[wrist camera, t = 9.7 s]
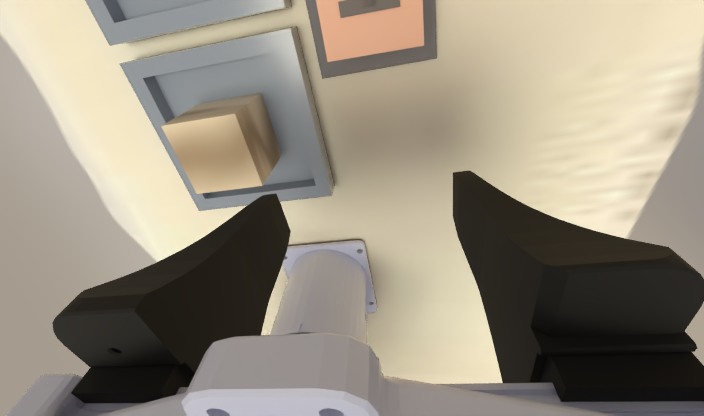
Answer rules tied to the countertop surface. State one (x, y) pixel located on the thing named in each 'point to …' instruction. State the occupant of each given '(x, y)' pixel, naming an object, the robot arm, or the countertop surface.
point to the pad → (381, 58)
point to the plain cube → (225, 143)
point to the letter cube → (369, 26)
